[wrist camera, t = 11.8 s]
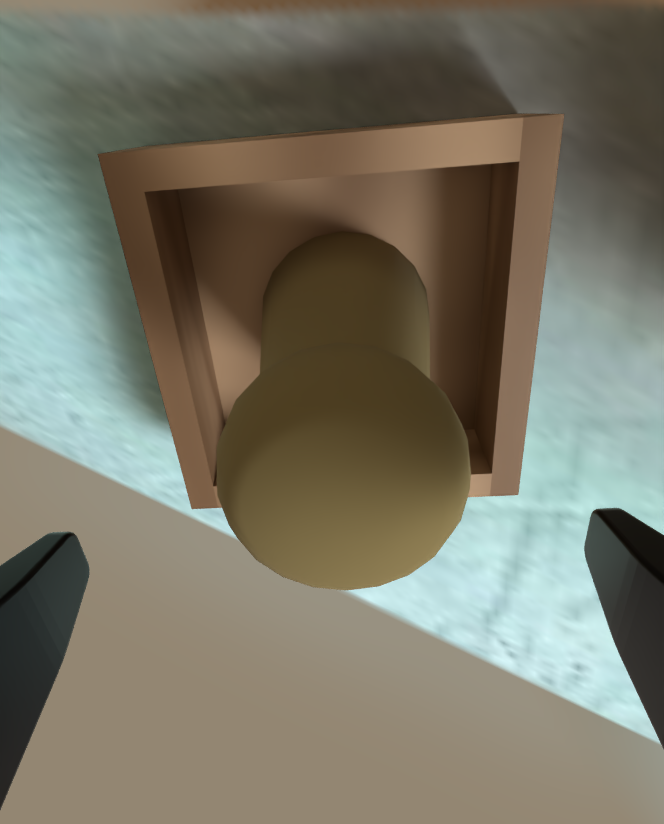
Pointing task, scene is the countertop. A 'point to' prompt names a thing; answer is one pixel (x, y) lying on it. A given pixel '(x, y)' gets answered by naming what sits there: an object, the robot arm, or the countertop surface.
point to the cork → (344, 423)
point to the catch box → (350, 212)
